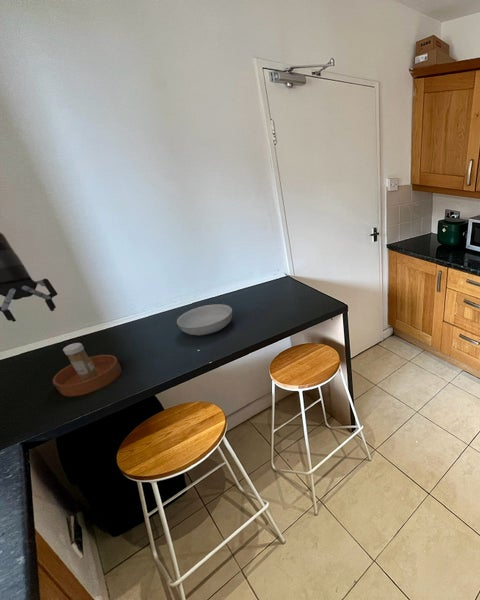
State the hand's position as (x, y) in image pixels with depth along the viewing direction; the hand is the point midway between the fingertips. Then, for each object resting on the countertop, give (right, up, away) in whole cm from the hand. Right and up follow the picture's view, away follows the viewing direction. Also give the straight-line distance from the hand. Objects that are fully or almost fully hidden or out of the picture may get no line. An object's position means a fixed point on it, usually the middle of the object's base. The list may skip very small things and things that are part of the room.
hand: (34, 315), depth 99 cm
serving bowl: (+33, -8, +38) cm, 51 cm away
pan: (+10, -23, +9) cm, 26 cm away
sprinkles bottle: (+9, -22, +9) cm, 26 cm away
